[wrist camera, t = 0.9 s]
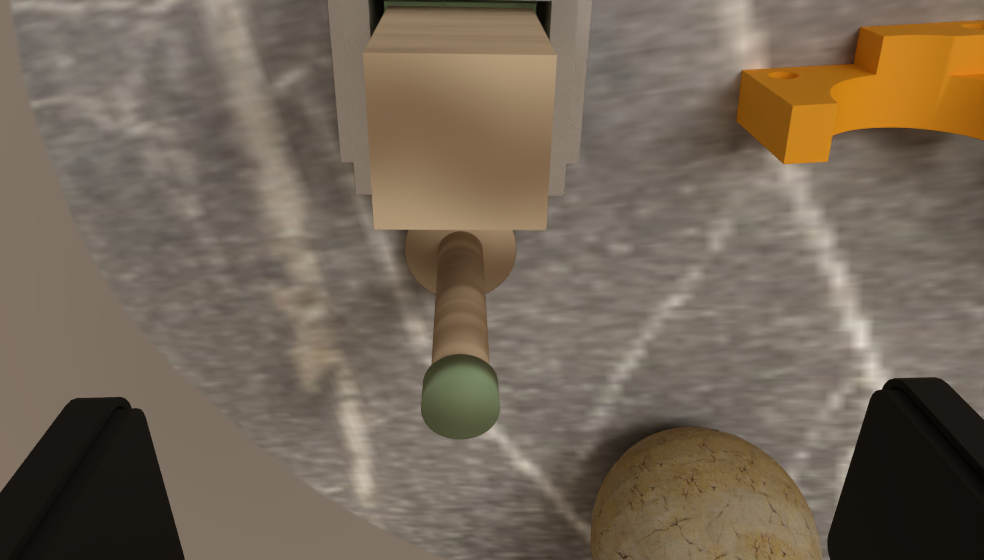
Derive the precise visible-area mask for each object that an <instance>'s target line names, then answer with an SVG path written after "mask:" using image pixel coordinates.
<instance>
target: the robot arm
mask: <svg viewBox="0 0 984 560" xmlns="http://www.w3.org/2000/svg"><path fill="white" fill-rule="evenodd" d="M827 542H828V553H829V557H830V560H984V420H983V419H982V418H981V417H980V416H979V415H978V414H977V413H976V412H975V411H974V410H973V409H972V408H971V407H970V406H969V405H968V404H967V403H966V402H965V401H964V400H963V399H962V398H961V397H960V396H959V395H958V394H957V393H956V392H955V391H954V390H953V389H952V388H951V387H950V386H949V385H948V384H947V383H946V382H945V381H943V380H942V379H939V378H935V377H929V378H894V379H891V380H888V381H887V382H886V383H885V384H884V386H883V388H882V390H878V391H875V392H874V393H873V394H872V397H871V399H870V401H869V405H868V408H867V411H866V414H865V418H864V421H863V424H862V427H861V431H860V434H859V437H858V440H857V444H856V447H855V450H854V453H853V457H852V460H851V463H850V466H849V469H848V473H847V476H846V479H845V482H844V486H843V489H842V492H841V495H840V499H839V502H838V505H837V508H836V512H835V515H834V518H833V521H832V525H831V528H830V531H829V534H828V540H827ZM0 560H185V559H184V554H183V551H182V547H181V543H180V540H179V536H178V532H177V529H176V525H175V522H174V518H173V514H172V511H171V507H170V504H169V500H168V497H167V493H166V489H165V485H164V482H163V478H162V475H161V471H160V468H159V464H158V460H157V457H156V454H155V450H154V446H153V442H152V438H151V435H150V431H149V428H148V424H147V420H146V417H145V415H144V412H143V411H142V410H141V409H137V408H134V409H132V408H131V406H130V403H129V402H128V401H127V400H126V399H125V398H122V397H105V398H76V399H74V400H71V401H70V402H69V403H68V404H67V405H66V406H65V407H64V409H63V410H62V411H61V413H60V414H59V415H58V417H57V418H56V419H55V421H54V422H53V423H52V425H51V426H50V427H49V429H48V430H47V431H46V433H45V434H44V435H43V437H42V438H41V439H40V441H39V442H38V443H37V445H36V446H35V447H34V449H33V450H32V451H31V453H30V454H29V455H28V457H27V458H26V459H25V460H24V462H23V463H22V465H21V466H20V467H19V468H18V470H17V471H16V473H15V474H14V475H13V476H12V478H11V479H10V481H9V482H8V483H7V484H6V486H5V487H4V488H3V490H2V491H1V492H0Z"/></svg>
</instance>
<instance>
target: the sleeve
mask: <svg viewBox="0 0 984 560" xmlns="http://www.w3.org/2000/svg"><path fill="white" fill-rule="evenodd" d="M522 1H535V2H536V3H537V5H536V16H537V18H538V20H539V22H540V24H541V26H542V27H543V29H544V31H545V33H546V35H547V37H548V39H549V41H550V43H551V45H552V47H553V48H554V50H555V52H556V54H557V64H556V80H555V96H554V112H553V128H552V144H551V160H550V175H549V191H548V196H564V189H565V176H566V164H579V154H580V142H581V129H582V117H583V105H584V93H585V81H586V69H587V57H588V45H589V33H590V21H591V9H592V0H522ZM328 12H329V24H330V36H331V48H332V60H333V72H334V84H335V96H336V108H337V120H338V132H339V144H340V156H341V162H354V176H355V189H356V195H372V189H371V173H370V157H369V141H368V126H367V110H366V94H365V78H364V63H363V51H364V50H365V48H366V46H367V44H368V42H369V40H370V39H371V37H372V35H373V33H374V31H375V29H376V27H377V26H378V24H379V22H380V20H381V18H382V16H383V15H384V13H385V12H384V0H328Z"/></svg>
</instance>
